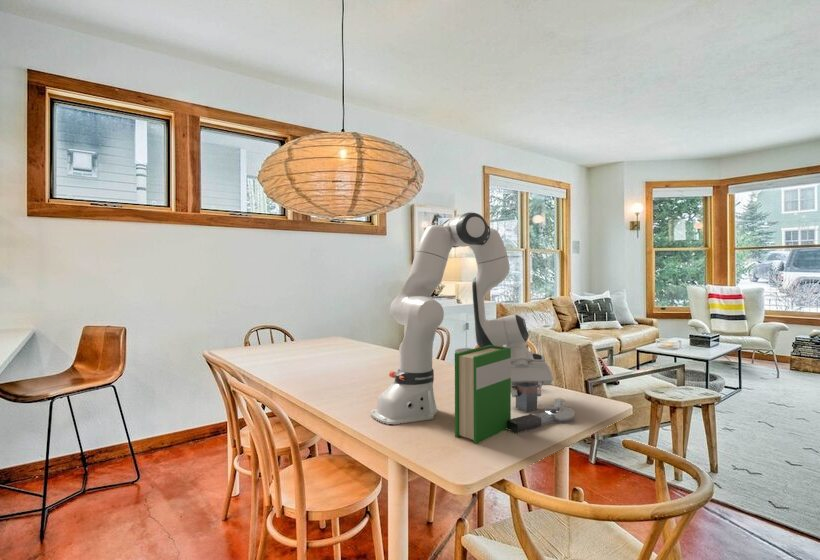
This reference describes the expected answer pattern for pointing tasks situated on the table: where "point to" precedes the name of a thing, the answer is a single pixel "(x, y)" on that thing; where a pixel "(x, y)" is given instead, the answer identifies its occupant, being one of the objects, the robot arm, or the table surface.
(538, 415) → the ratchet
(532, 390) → the dark grey block
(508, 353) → the hardback book
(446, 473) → the table surface
